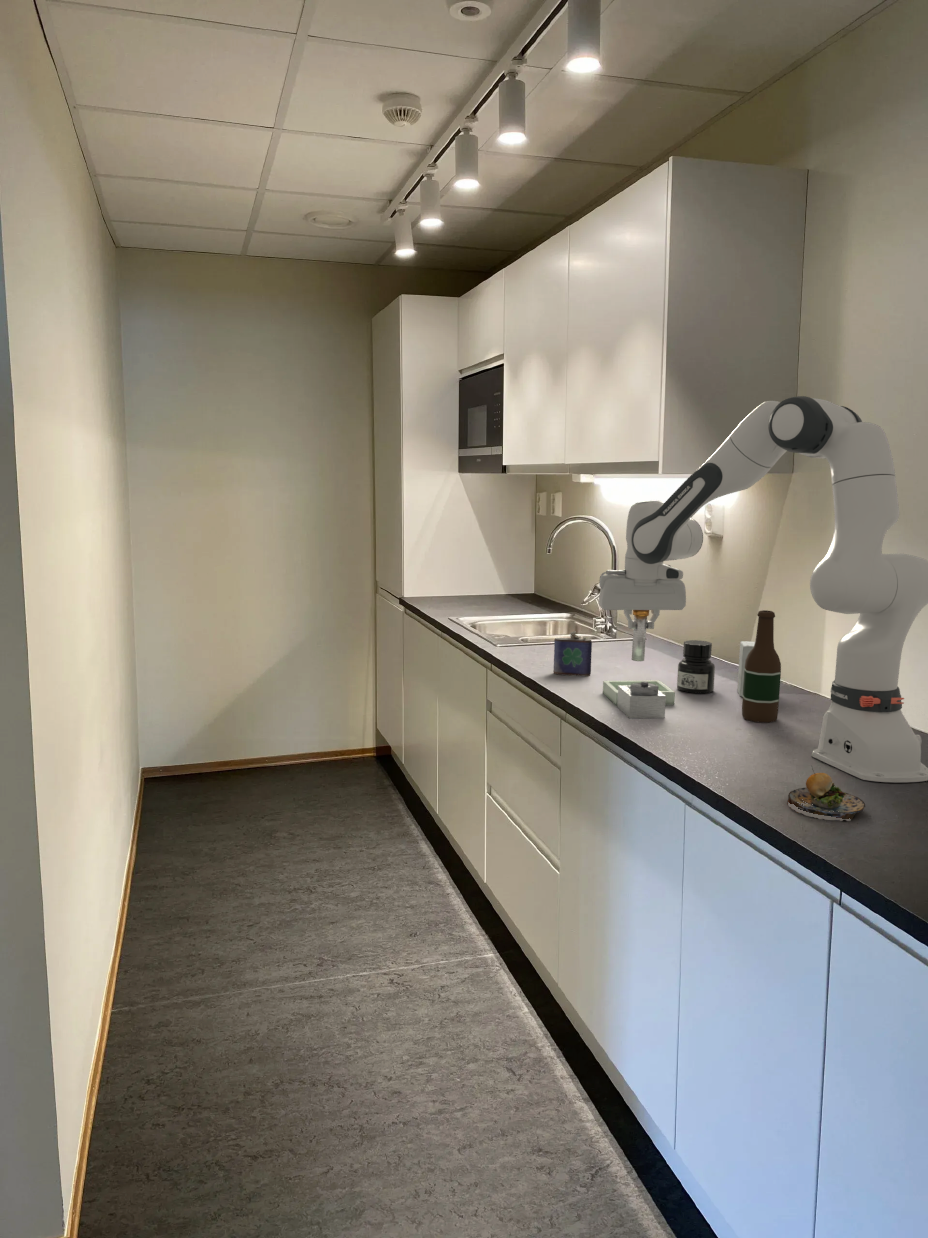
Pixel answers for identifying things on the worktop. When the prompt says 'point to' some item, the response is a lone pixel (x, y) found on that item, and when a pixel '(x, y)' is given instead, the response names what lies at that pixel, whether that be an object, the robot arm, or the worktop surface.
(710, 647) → the ink bottle
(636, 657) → the pin
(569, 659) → the flask
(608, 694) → the tray
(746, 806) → the worktop surface
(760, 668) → the beer bottle
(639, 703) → the block
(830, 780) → the burger
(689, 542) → the robot arm
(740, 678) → the supplement box
